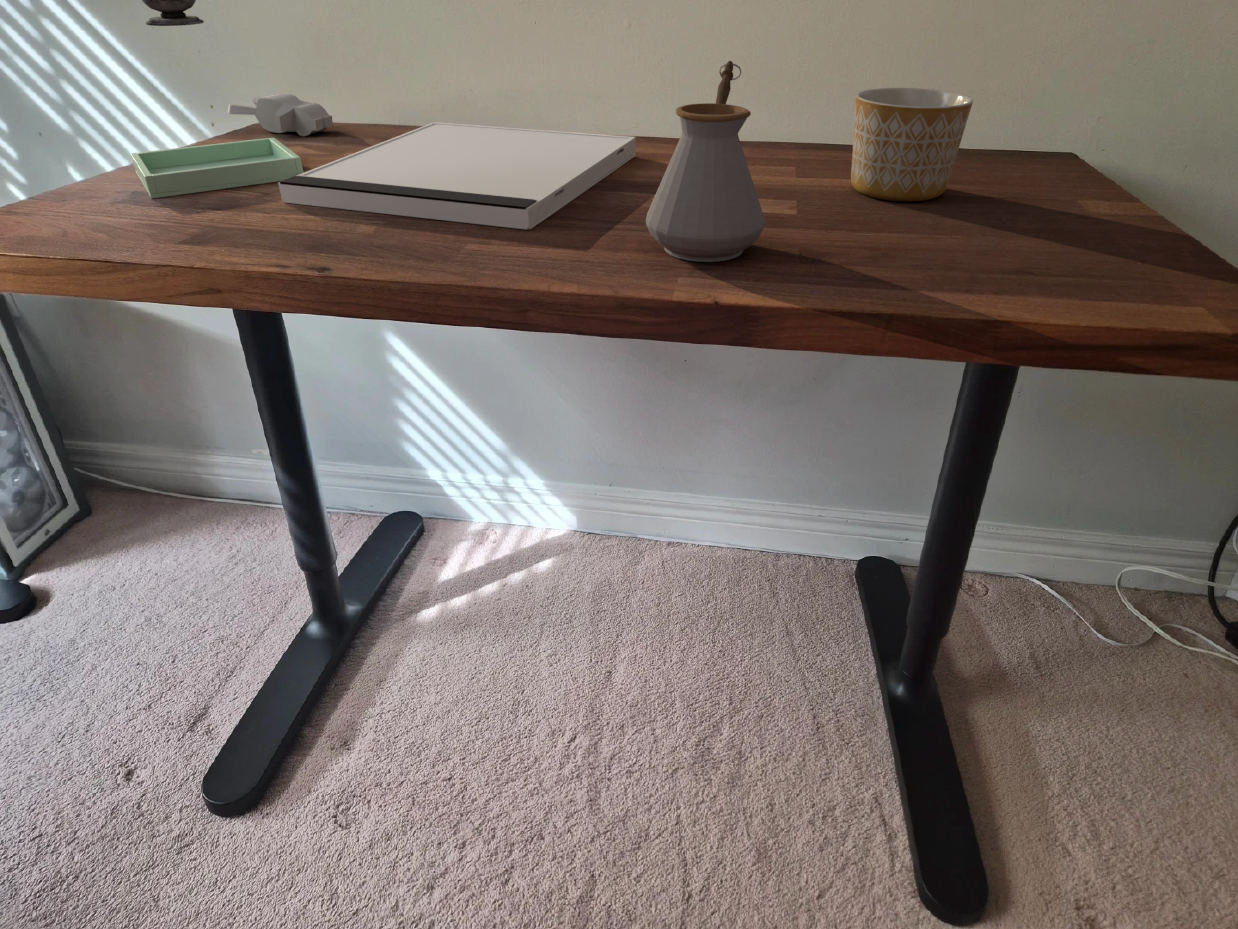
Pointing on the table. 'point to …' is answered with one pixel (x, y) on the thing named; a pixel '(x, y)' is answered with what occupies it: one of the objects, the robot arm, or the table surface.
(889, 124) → the planter
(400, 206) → the flat white box
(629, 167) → the table surface
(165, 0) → the salt shaker
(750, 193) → the coffee pot
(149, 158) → the serving tray
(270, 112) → the grey blocky piece
